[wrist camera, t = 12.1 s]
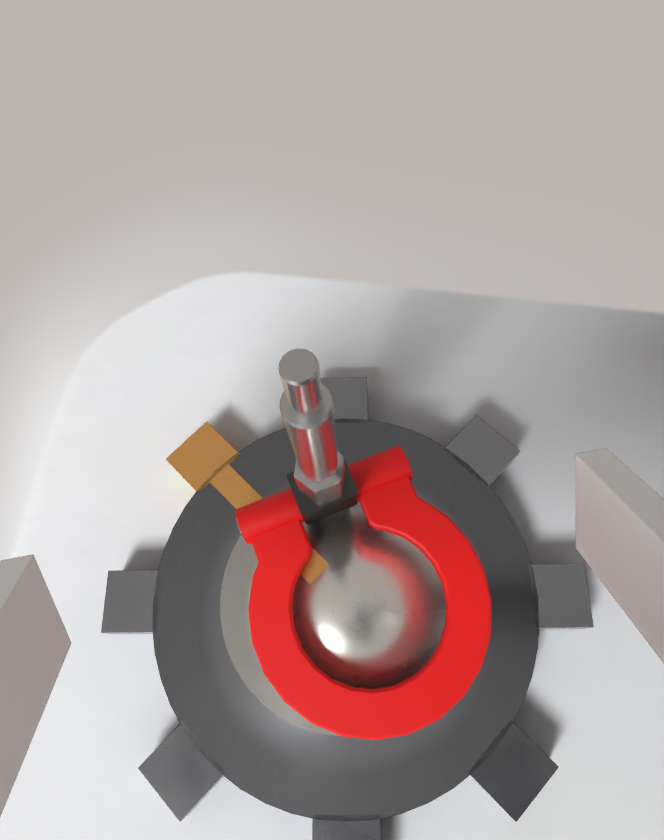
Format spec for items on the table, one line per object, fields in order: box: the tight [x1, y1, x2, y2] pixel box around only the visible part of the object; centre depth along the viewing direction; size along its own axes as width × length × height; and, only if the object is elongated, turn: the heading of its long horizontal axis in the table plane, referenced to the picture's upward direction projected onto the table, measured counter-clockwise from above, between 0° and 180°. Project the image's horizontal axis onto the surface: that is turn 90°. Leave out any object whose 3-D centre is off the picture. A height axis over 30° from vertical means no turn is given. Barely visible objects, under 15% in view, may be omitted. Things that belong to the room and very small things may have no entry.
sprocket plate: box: [101, 377, 593, 840], centre depth 23 cm, size 18×18×1 cm
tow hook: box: [235, 349, 492, 740], centre depth 17 cm, size 8×13×9 cm
